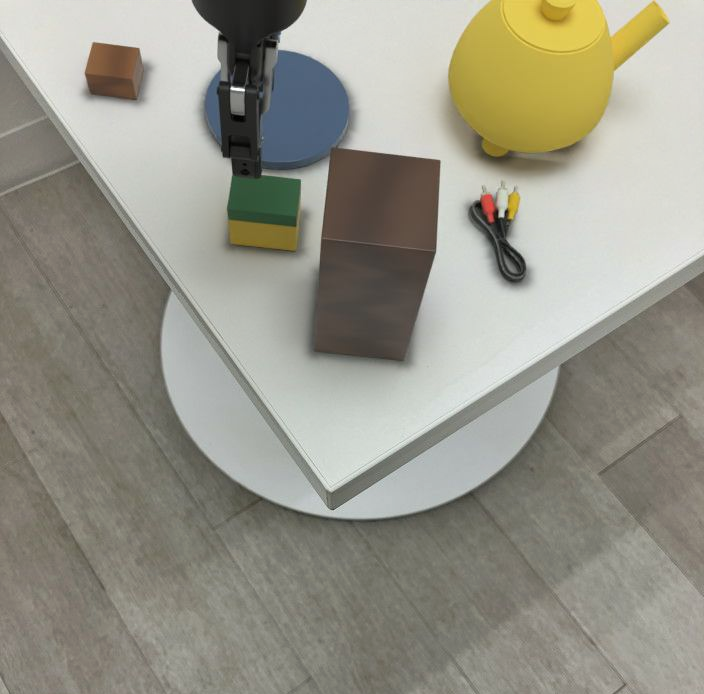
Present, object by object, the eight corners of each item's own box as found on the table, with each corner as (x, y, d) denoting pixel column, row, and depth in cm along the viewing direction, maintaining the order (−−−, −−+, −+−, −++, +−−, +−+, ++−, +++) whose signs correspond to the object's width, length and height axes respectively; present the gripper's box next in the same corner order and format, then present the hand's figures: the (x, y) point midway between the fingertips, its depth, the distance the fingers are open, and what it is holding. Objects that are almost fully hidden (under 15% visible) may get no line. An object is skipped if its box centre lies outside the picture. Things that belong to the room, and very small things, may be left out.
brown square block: (90, 94, 77) (84, 73, 75) (98, 62, 79) (92, 41, 76) (136, 99, 77) (132, 79, 75) (144, 68, 79) (139, 47, 76)
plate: (196, 160, 75) (194, 152, 75) (216, 49, 80) (215, 41, 79) (342, 177, 76) (343, 170, 75) (353, 66, 81) (354, 58, 80)
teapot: (602, 43, 85) (658, -85, 72) (654, 159, 80) (724, 43, 67) (423, 65, 82) (448, -65, 69) (465, 187, 77) (502, 72, 64)
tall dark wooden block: (313, 351, 69) (320, 238, 54) (321, 273, 72) (331, 146, 57) (404, 361, 70) (436, 251, 55) (409, 283, 73) (440, 159, 58)
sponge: (230, 244, 73) (226, 208, 68) (236, 208, 74) (232, 171, 69) (296, 251, 73) (296, 216, 68) (300, 215, 74) (301, 178, 70)
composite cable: (528, 282, 74) (536, 267, 71) (477, 283, 73) (484, 268, 71) (513, 195, 77) (520, 177, 75) (464, 195, 76) (470, 178, 74)
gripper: (199, -162, 49) (217, 56, 64) (163, 6, 44) (192, 199, 59) (320, -145, 50) (310, 68, 65) (298, 23, 45) (292, 211, 60)
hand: (253, 130), depth 62 cm, fingers open, 8 cm apart
